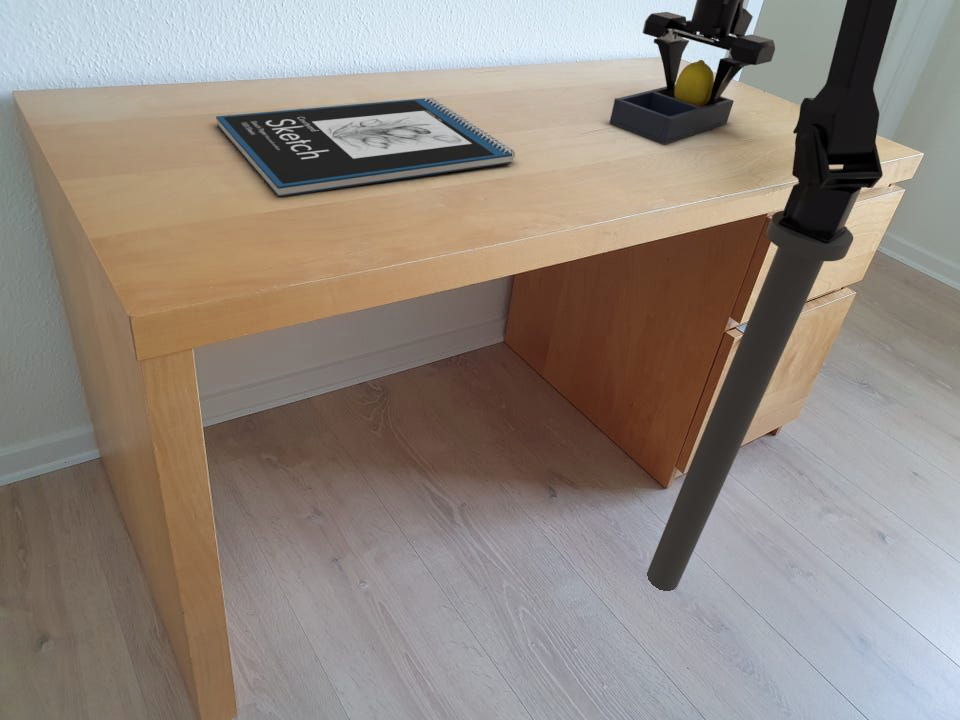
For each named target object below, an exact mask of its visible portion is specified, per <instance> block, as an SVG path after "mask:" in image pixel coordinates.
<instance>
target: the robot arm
mask: <svg viewBox="0 0 960 720" xmlns="http://www.w3.org/2000/svg"><path fill="white" fill-rule="evenodd" d="M744 2H745V0H696V1H695V5H694V9H693V13H692V16H691V20H687V17H686V16H684V15H681V14H677V13H673V12H670V11H661V12H653V13H650V14H649V15H648V16H647V18H646V19H645V21H644V23H643V29H642V34H643V35H647V36H651V37H654V39H653V44H655V45H657V48H658V51H659V54H660V55H659V56H660V59H661V62H662V67H663V73H664V79H665V85H666V86H667V90H668V91H672V90H673V88H674V85H675V84H676V82H677V79H678V76H679V71H680V66H681V62H682V57H683V53H684V51H685V50H686V48H687V46H688V44H689V43H690V40H691V41H694V42H697V43H700V44H701V43H702V44H705V45H708V46H712V47H714V48H720V49H722V50H726V51H728V56H727V57H723V58H720V59H719V62H718V65H717V69H716V73H715V75H714V84H713V88H712V92H711V96H710V105H711V104H715V103H716V102H717V100H718V99H719V97H720V96H722V94H723V93H724V92H725V90H726V89H727V87H728V86H729V84H730V83H731V82H732V80H734V78H735V77H736V76H737V74H738V73H739V72H740V71H741V70H742V69H744V67H747V66H757V65H762V64H766V63H770V62H772V60H773V57H774V55H775V51H776V44H775V41H774V39H771V38H767V37H763V36H760V35H757V34H747V31H748V29H749V26H750V25H751V23H752V20H753V18H754V16H753V15H752V14H751V13H750V12H749V11H748V10H747V9H746V8H744ZM897 3H898V0H846V3H845V6H844V10H843V14H842V18H841V22H840V26H839V30H838V35H837V39H836V43H835V47H834V51H833V54H832V58H831V62H830V65H829V71H828V74H827V80H826V82H825V84H824V85H823V87H822V88H821V89H820V91H819V92H818V93H817V94H816V96H815V97H805V98H803V100H802V102H801V103H800V107H799V115H798V120H797V123H796V125H795V127H794V129H793V132H792V133H793V134H796V135H795V141H794V156H793V164H792V170H791V171H792V172H791V175H792V176H793V177H795V178H797V183H796V184H793V186H792V188H791V191H790V193H789V196H788V198H787V201H786V203H785V206H784V208H783V210H784V211H783V210H782V211H783V213H782V214H783V216H785V217H784V218H782V219H780V220H779V223H778V224H779V225H781V226H784V227H786V228H789V229H791V230H794V231H796V232H798V233H801V234H803V235H806V236H808V237H811V238H813V239H815V240H818V241H820V242H823V243H826V244H828V243H830V242H831V241H833V240H834V239H836V238H837V237H839V236H840V235H842V234H843V233H845V232H846V230H847V229H848V227H847V226H846V224H847V221H848V219H849V217H850V215H851V212H852V211H853V208H854V206H855V204H856V201H857V199H858V197H859V196H860V193H861V191H862V188H867V189H872V188H874V187H875V185H876V184H877V183H878V182H879V181H880V180H881V178H883V176H884V175H883V169H882V164H881V159H880V155H879V152H878V147H877V143H876V142H877V141H876V140H877V134H878V129H879V128H878V127H879V121H880V110H879V109H880V108H879V106H878V103H877V99H876V98H877V97H876V95H875V91H874V87H875V82H876V78H877V75H878V71H879V67H880V64H881V60H882V56H883V52H884V50H885V46H886V43H887V38H888V36H889V32H890V28H891V25H892V20H893V18H894V17H893V16H894V13H895V10H896V6H897ZM746 34H747V35H746ZM830 166H842V168H841V167H840V168H830Z"/></svg>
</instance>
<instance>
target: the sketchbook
mask: <svg viewBox="0 0 960 720" xmlns="http://www.w3.org/2000/svg"><path fill="white" fill-rule="evenodd" d="M215 118H216V119H215V120H216V126H217V127H218V128H219V129H220V131H222V133H223V134H224V135H225V136H226V137H227V139H229V141H230V142H231V143H232V144H233V146H234V147H235V148H236V149H237V150H238V151H239V153H240V154H241V155H242V156H243V157H244V158H245V160H246V161H247V162H248V163H249V164H250V166H251V167H252V168H253V169H254V170H255V171H256V172H257V173H258V174H259V176H260V177H261V178H262V180H263V181H264V182H265V183H266V184H267V185H268V186H269V187H270V189H271V190H272V191H273V192H274V193H275V195H277V197H278V198H279V197H281V198H282V197H288V196H295V195H301V194H307V193H315V192H322V191H328V190H336V189H342V188H349V187H356V186H363V185H371V184H377V183H383V182H390V181H398V180H405V179H411V178H419V177H425V176H432V175H438V174H446V173H452V172H458V171H465V170H467V171H468V170H472V169H479V168H480V169H481V168H487V167H493V166H501V165H508V164H512V162H513V161H514V159H515V157H516V151H515V150H514V149H513V147H510V146H508V145H507V144H506V143H504V142H503V141H501V140H499V139H498V138H496V137H494V136H493V135H492V134H490V133H488V132H487V131H485V130H484V129H482V128H481V127H479V126H478V125H476V124H474V123H473V122H472V121H470V120H468V119H467V118H465V117H463V116H462V115H461V114H459V113H457V112H456V111H454V110H453V109H452V108H450V107H448V106H447V105H445V104H444V103H442V102H441V101H439V100H437V99H436V98H434V97H433V96H427V97H424V98H423V97H422V98H411V99H399V100H391V101H390V100H388V101H377V102H367V103H354V104H343V105H332V106H330V105H329V106H321V107H320V106H319V107H307V108H296V109H295V108H294V109H286V110H285V109H283V110H273V111H262V112H261V111H260V112H249V113H239V114H227V115H217V116H215Z"/></svg>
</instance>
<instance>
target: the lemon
mask: <svg viewBox="0 0 960 720" xmlns="http://www.w3.org/2000/svg"><path fill="white" fill-rule="evenodd" d="M714 80H715V75H714V72H713V70H712V68H711V67H710V66H709V65H708V64H707V63H706V62H705V60H703V59H699V60H697V61H694V62H691V63H689V64H687V65H686V66H685V67H684V68H682V70H681V72H680V74H678V76H677V79H676V83H675V84H676V85H675V91H674V95H675V99H678V100H681V101H684V102H687V103H689V104H692V105H695V106H698V107H703V106H704V105H705V104H706V103H707V102H708V100H709V99H710V96H711V92H712V88H713V84H714Z"/></svg>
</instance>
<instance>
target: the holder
mask: <svg viewBox="0 0 960 720" xmlns="http://www.w3.org/2000/svg"><path fill="white" fill-rule="evenodd" d="M675 85H676V83H675ZM675 85H674V88H673V90H672V91H668V90H667V85H666V86H662V87H659V88H654V89H651V90H647V91H642V92H638V93H634V94H630V95H626V96H622V97H617V98H615V99H614V102H613V106H612V110H611V115H610V119H609V124H610V125H611V126H614V127H616V128H620V129H623V130H625V131H628V132H630V133H634V134H635V135H638V136H641V137H643V138H646V139H649V140H652V141H654V142H657V143H659V144H661V145H668V144H670V143H673V142H676V141H679V140H683V139H686V138H689V137H691V136H694V135H697V134H700V133H704V132H706V131H710V130H712V129H715V128H718V127H721V126H724V125H727V124H728V121H729V118H730V114H731V111H732V109H733V105H734V102H735V100H733V99H731V98H728V97H725V96H723V95H721V96H720V97H719V99H718V100H717V102H716V103H715V104H711V105H710V99H709V100H708V102H707V103H706V104H705V105H704V106H703V107H698V106H695V105H692V104H689V103H687V102H684V101H681V100H678V99H675V95H674V91H675Z"/></svg>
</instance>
